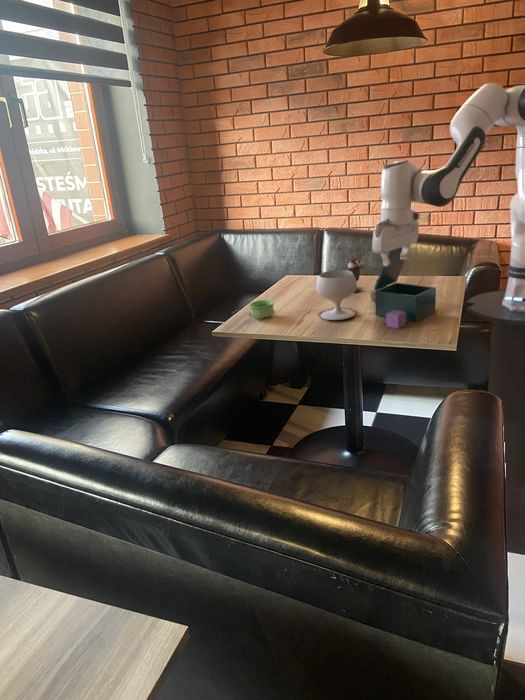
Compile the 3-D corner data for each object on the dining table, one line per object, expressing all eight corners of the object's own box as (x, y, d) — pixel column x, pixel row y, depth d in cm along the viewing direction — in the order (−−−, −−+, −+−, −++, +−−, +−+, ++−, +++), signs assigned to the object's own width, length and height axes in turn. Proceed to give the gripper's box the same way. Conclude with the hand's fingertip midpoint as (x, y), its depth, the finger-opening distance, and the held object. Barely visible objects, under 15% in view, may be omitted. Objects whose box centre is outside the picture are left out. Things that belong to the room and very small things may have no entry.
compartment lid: (412, 239, 180) (401, 233, 183) (391, 246, 172) (380, 239, 175) (396, 281, 190) (385, 275, 192) (376, 290, 182) (365, 283, 184)
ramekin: (278, 311, 200) (277, 299, 199) (269, 318, 193) (268, 307, 191) (256, 310, 204) (255, 299, 202) (246, 318, 196) (245, 306, 195)
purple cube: (405, 324, 174) (405, 311, 172) (398, 328, 171) (398, 315, 169) (393, 322, 177) (393, 309, 175) (386, 326, 174) (386, 313, 172)
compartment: (435, 312, 183) (436, 287, 180) (415, 322, 175) (416, 296, 172) (395, 306, 193) (395, 282, 190) (375, 315, 186) (375, 290, 182)
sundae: (350, 293, 215) (348, 256, 209) (344, 290, 221) (342, 254, 215) (365, 290, 216) (364, 253, 211) (358, 287, 222) (357, 251, 217)
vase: (388, 305, 195) (387, 282, 192) (369, 305, 197) (368, 282, 194) (390, 300, 201) (390, 277, 198) (372, 300, 203) (371, 277, 200)
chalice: (326, 309, 198) (324, 269, 193) (363, 310, 191) (361, 269, 186) (312, 320, 187) (308, 278, 181) (350, 322, 180) (348, 279, 175)
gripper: (385, 222, 153) (385, 270, 158) (422, 212, 166) (421, 257, 171) (366, 222, 157) (367, 268, 162) (404, 212, 170) (404, 255, 175)
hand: (395, 262), depth 166 cm, fingers open, 8 cm apart
